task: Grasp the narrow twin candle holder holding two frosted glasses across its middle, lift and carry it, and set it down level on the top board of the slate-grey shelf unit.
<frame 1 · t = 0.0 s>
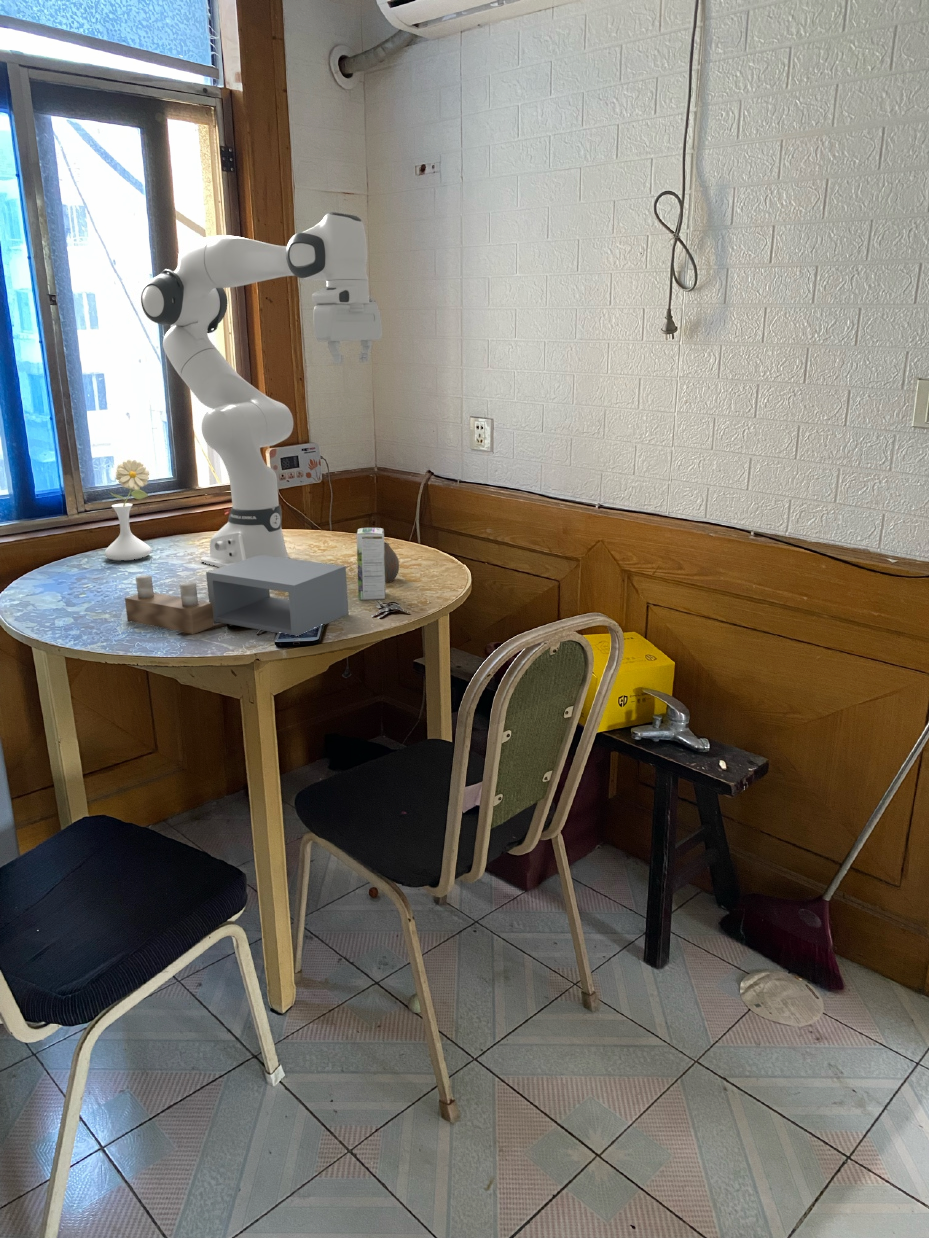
hand: (351, 363, 198), 48 cm above the table, tool pointing down, fingers open, 8 cm apart
vase: (384, 581, 210), on the table
flower in vase: (132, 559, 233), on the table
twin candle holder: (170, 624, 181), on the table
syrup box: (372, 597, 197), on the table
slate shelf: (280, 617, 184), on the table
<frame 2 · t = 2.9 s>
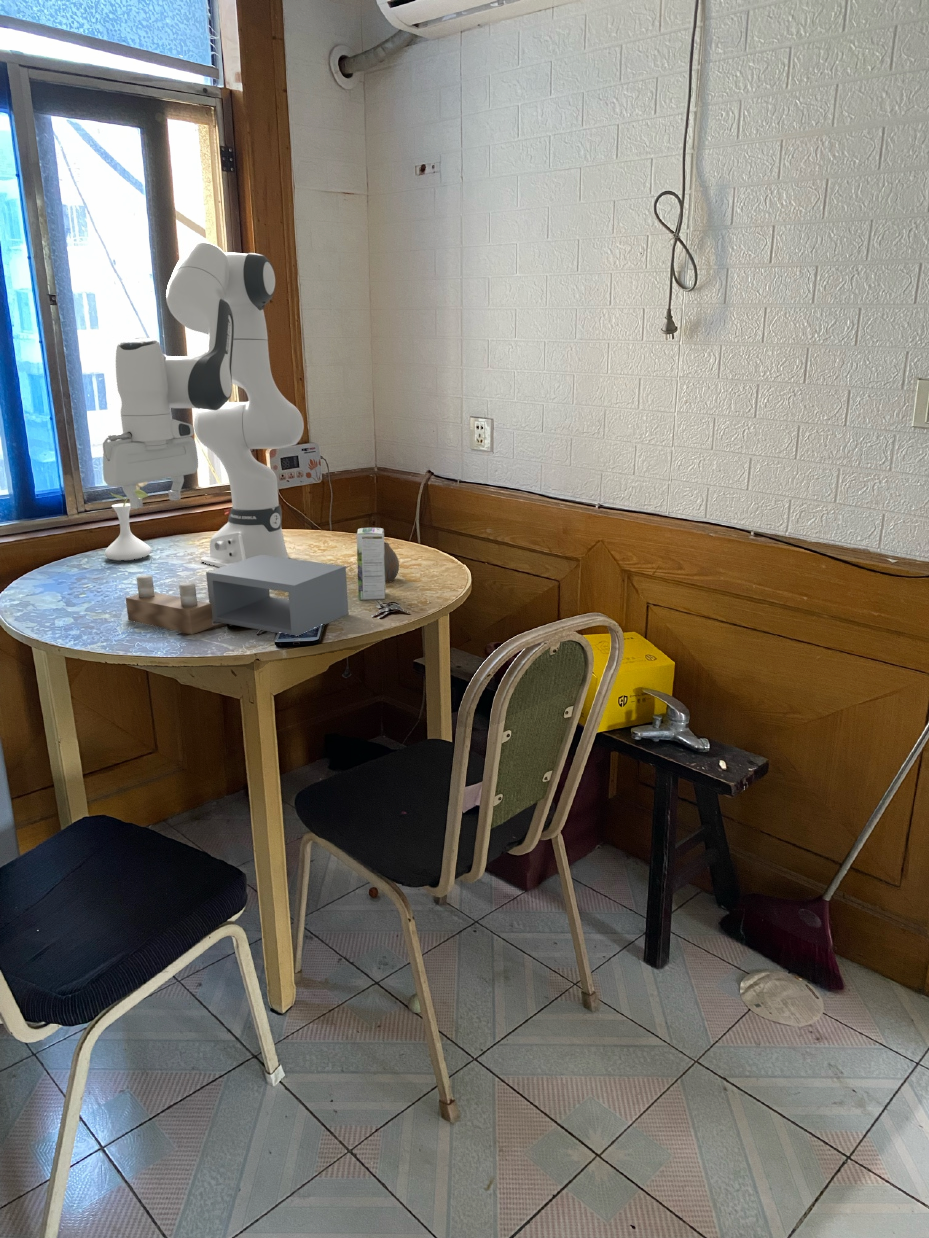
hand: (156, 503, 174), 24 cm above the table, tool pointing down, fingers open, 8 cm apart
nothing on the table moved.
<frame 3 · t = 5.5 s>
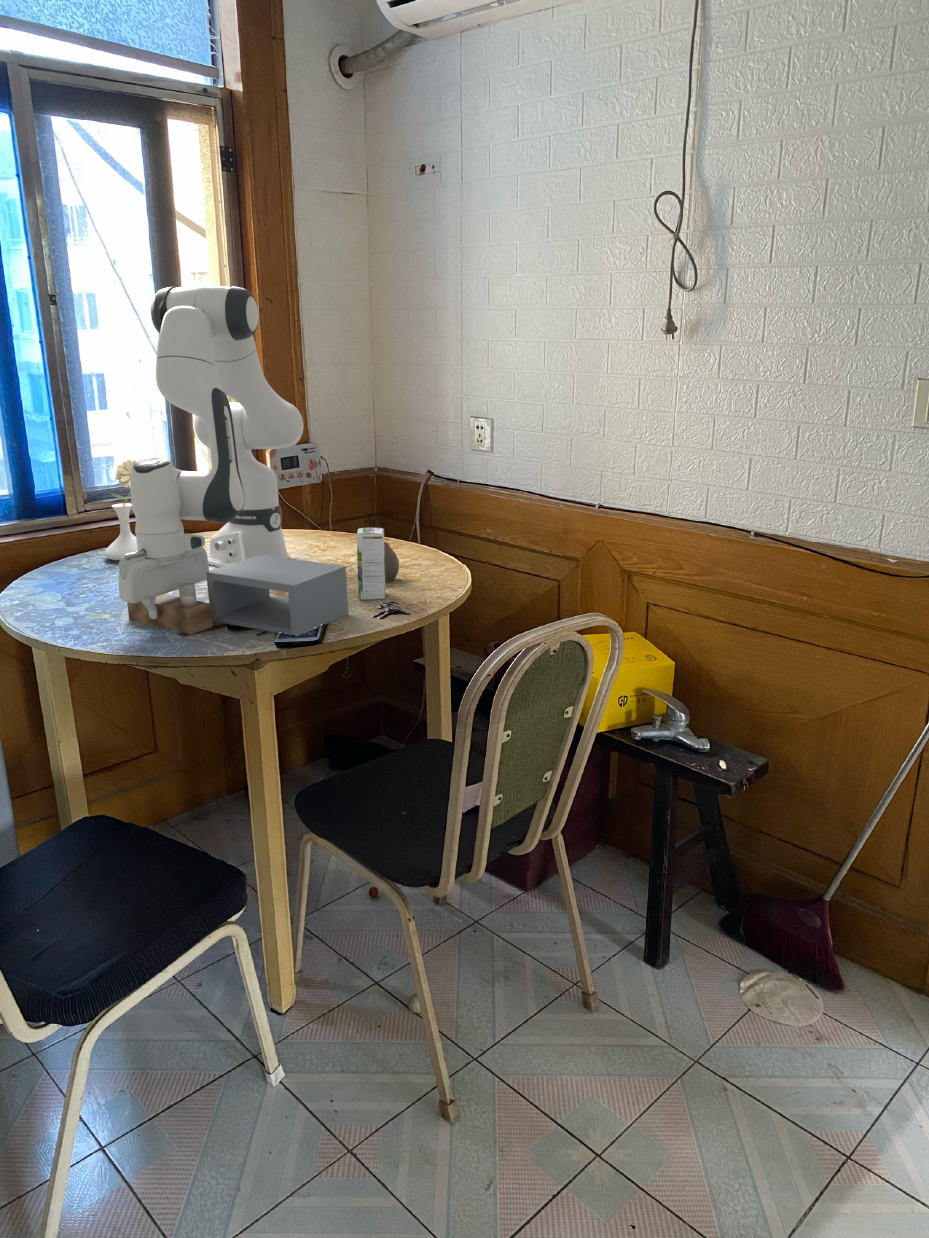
hand: (169, 613, 180), 2 cm above the table, tool pointing down, fingers closed on twin candle holder, 6 cm apart
twin candle holder: (170, 624, 181), on the table, touching gripper
everything else where it was.
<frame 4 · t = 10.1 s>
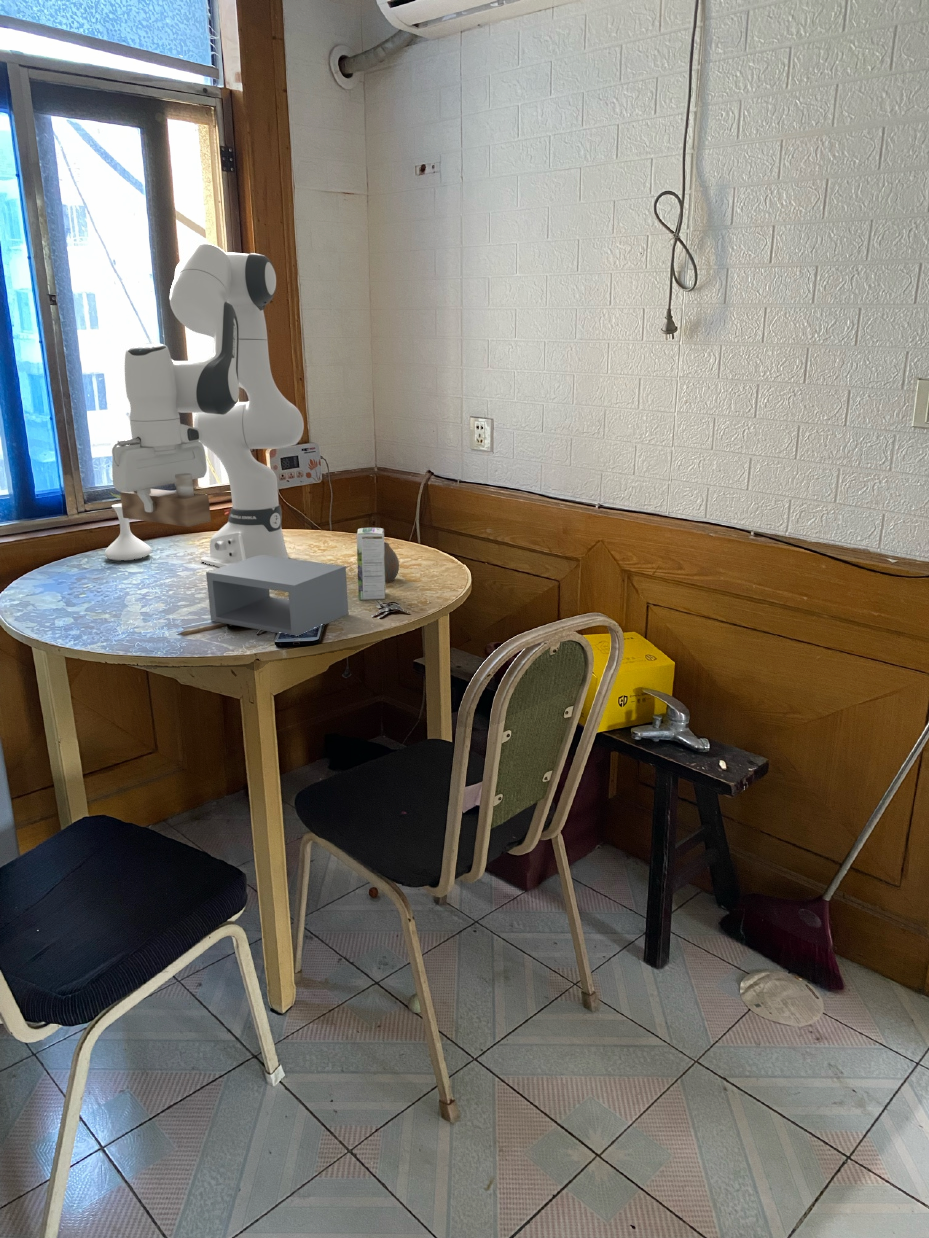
hand: (165, 508, 174), 23 cm above the table, tool pointing down, fingers closed on twin candle holder, 6 cm apart
twin candle holder: (166, 519, 175), point 21 cm above the table, touching gripper
everything else where it was.
when the fingers open (14 cm above the table, at t = 14.3 s): twin candle holder drops 1 cm, resting on slate shelf.
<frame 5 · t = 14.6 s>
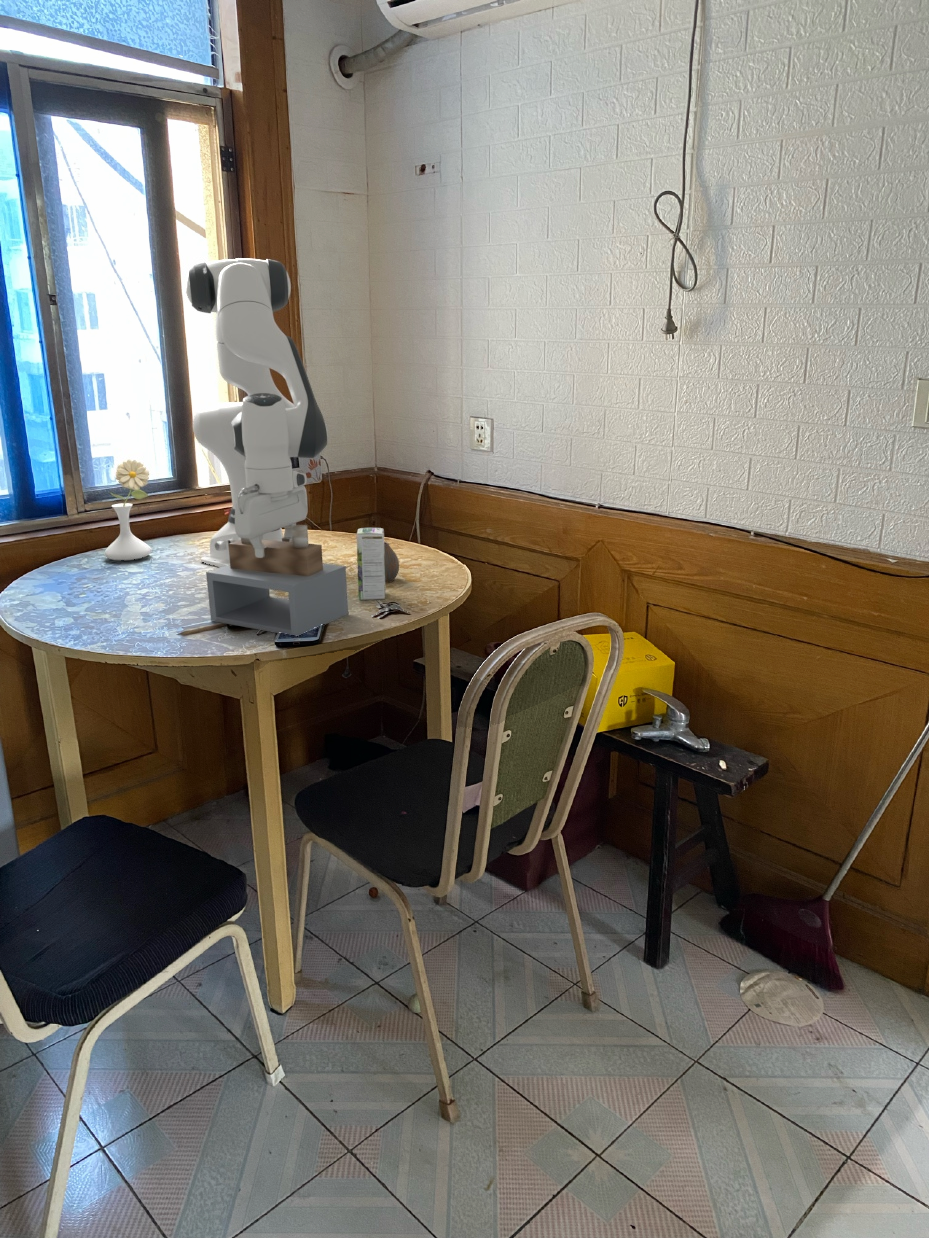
hand: (275, 551, 180), 14 cm above the table, tool pointing down, fingers open, 8 cm apart
twin candle holder: (276, 569, 181), point 10 cm above the table, touching slate shelf
everything else where it was.
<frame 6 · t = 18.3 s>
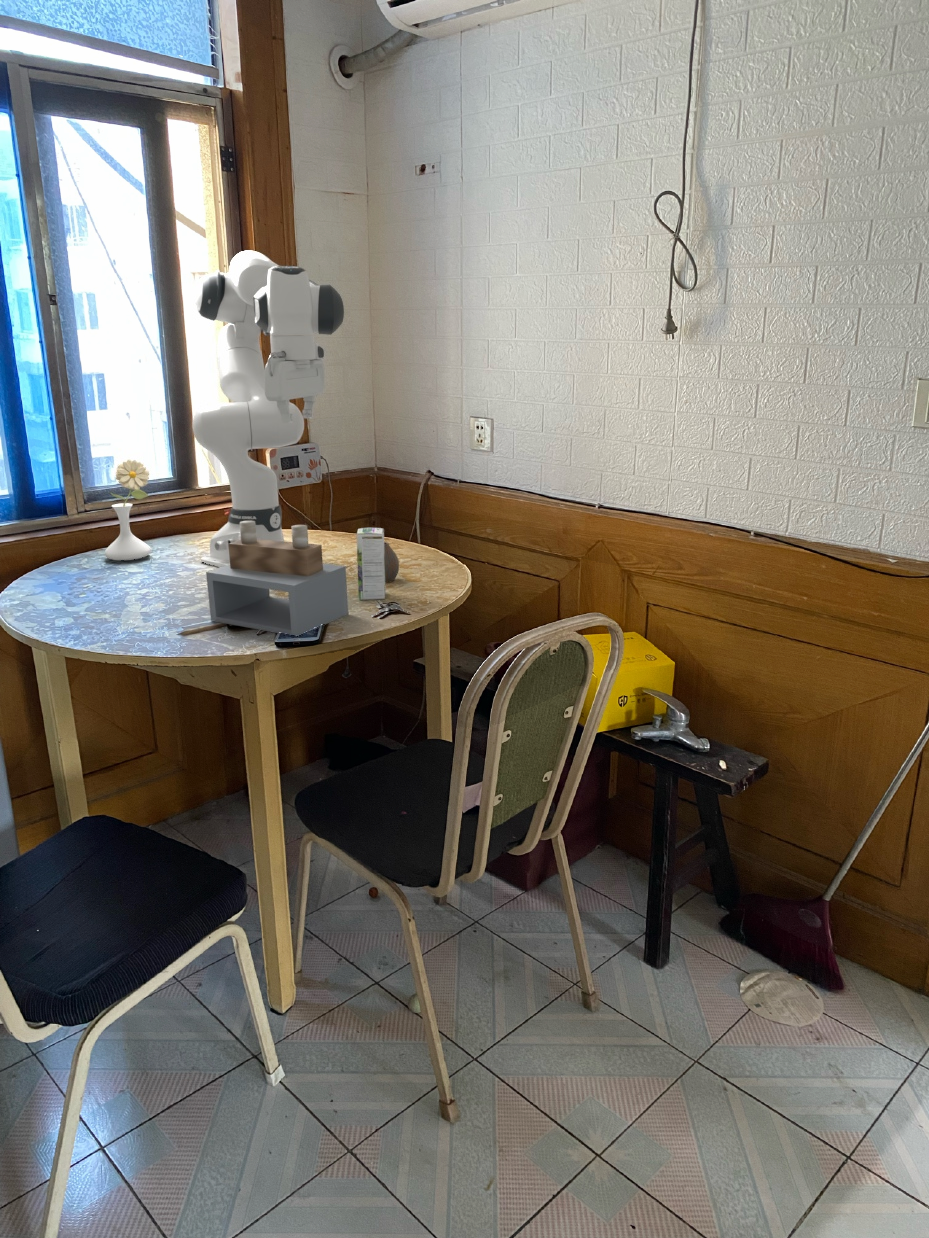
hand: (297, 420, 189), 37 cm above the table, tool pointing down, fingers open, 8 cm apart
nothing on the table moved.
at the end: twin candle holder inside the target area on the slate shelf (0.0 cm from its centre), point 10.0 cm above the slate shelf's base; twin candle holder tilted 0°; the gripper is holding nothing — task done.
